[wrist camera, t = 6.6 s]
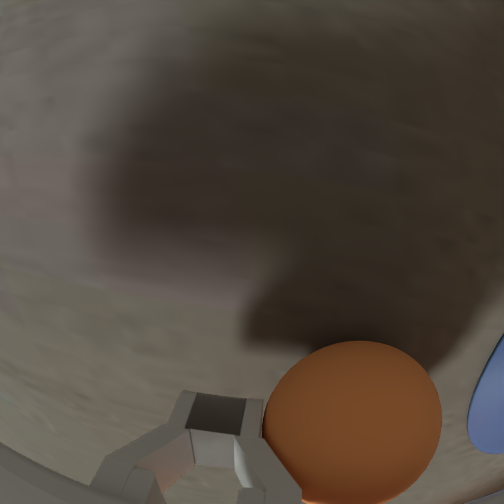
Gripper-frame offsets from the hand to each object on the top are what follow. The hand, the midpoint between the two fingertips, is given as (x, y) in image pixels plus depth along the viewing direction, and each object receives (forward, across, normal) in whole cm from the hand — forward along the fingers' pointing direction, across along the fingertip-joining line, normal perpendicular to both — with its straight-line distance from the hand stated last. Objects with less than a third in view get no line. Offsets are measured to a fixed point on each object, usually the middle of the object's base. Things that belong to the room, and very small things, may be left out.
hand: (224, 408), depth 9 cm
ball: (-1, +4, 0) cm, 4 cm away
